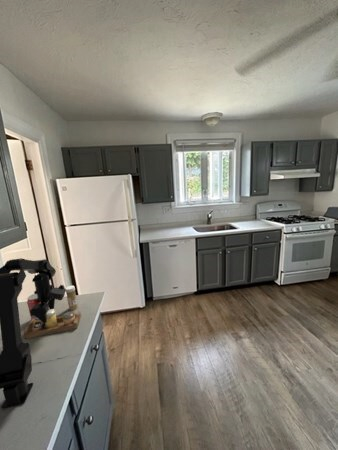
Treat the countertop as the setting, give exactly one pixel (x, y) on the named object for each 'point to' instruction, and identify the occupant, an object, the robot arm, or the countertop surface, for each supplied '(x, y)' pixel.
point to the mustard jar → (51, 319)
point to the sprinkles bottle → (71, 297)
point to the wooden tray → (34, 332)
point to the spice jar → (69, 318)
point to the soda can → (32, 304)
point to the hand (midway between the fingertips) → (49, 316)
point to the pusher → (40, 326)
